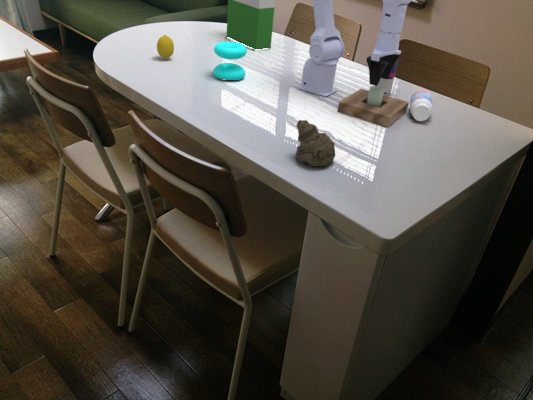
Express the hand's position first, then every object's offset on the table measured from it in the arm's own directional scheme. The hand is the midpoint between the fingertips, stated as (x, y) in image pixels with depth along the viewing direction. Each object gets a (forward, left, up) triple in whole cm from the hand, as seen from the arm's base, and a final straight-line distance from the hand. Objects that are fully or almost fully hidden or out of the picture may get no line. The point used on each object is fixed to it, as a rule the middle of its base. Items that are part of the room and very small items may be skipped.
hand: (378, 81), depth 135 cm
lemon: (-71, -9, -9) cm, 72 cm away
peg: (0, 0, -9) cm, 9 cm away
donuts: (-46, -7, -9) cm, 47 cm away
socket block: (0, 0, -9) cm, 9 cm away
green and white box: (-64, +29, -9) cm, 71 cm away
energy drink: (-4, +17, -9) cm, 20 cm away
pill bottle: (+10, +13, -6) cm, 17 cm away
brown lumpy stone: (+3, -38, -9) cm, 39 cm away
